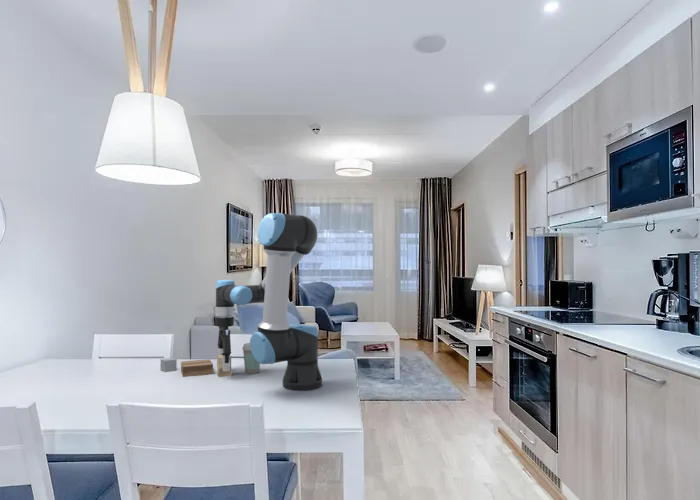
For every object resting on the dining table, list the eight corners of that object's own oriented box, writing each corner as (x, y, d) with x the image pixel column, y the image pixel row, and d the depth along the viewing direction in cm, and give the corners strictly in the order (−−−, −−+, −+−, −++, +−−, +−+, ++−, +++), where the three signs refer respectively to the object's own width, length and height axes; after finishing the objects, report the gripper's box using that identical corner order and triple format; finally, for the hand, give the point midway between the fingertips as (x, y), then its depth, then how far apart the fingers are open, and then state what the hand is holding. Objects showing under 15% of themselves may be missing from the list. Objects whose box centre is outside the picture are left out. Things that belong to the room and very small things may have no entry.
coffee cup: (264, 370, 197) (264, 342, 198) (258, 374, 189) (259, 346, 189) (245, 369, 198) (246, 342, 199) (239, 374, 190) (239, 345, 190)
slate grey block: (176, 370, 196) (176, 359, 197) (164, 372, 193) (165, 360, 193) (171, 368, 200) (171, 357, 200) (160, 370, 197) (160, 359, 197)
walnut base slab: (212, 374, 190) (213, 364, 190) (182, 376, 185) (182, 367, 185) (209, 368, 201) (209, 359, 201) (181, 370, 196) (181, 361, 196)
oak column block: (231, 376, 186) (231, 356, 187) (218, 377, 184) (219, 357, 185) (229, 373, 191) (229, 354, 191) (217, 374, 189) (217, 355, 189)
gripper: (239, 319, 179) (238, 373, 178) (229, 313, 202) (228, 360, 201) (219, 320, 176) (218, 374, 175) (211, 313, 199) (210, 361, 198)
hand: (223, 367), depth 188 cm, fingers open, 13 cm apart
